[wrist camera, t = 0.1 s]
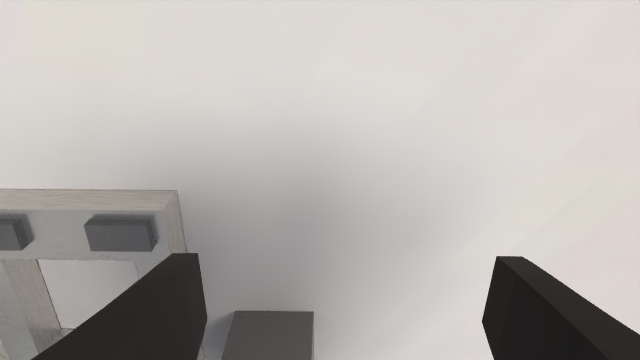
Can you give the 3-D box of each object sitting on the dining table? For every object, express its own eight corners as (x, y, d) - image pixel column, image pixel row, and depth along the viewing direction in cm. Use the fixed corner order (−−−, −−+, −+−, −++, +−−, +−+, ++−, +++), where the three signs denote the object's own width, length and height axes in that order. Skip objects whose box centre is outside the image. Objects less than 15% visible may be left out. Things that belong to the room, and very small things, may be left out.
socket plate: (205, 363, 25) (193, 400, 23) (45, 361, 25) (17, 398, 23) (176, 190, 20) (157, 216, 18) (-24, 189, 20) (-68, 214, 18)
